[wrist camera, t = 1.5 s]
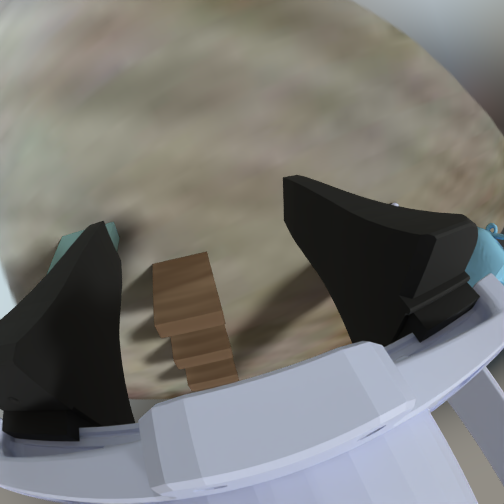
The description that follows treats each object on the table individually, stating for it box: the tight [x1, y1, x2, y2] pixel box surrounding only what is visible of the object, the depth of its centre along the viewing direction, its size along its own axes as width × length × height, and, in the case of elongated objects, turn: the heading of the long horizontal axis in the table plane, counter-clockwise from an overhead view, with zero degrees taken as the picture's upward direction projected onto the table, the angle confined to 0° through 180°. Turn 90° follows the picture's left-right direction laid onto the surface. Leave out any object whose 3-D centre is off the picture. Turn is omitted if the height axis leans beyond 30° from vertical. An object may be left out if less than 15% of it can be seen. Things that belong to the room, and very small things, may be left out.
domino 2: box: [171, 324, 233, 369], centre depth 25 cm, size 2×5×7 cm, turn 94°
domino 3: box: [185, 357, 239, 391], centre depth 29 cm, size 2×5×7 cm, turn 94°
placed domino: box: [47, 222, 119, 274], centre depth 18 cm, size 2×5×7 cm, turn 93°
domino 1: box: [153, 252, 225, 338], centre depth 22 cm, size 2×5×7 cm, turn 94°
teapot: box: [465, 223, 504, 288], centre depth 35 cm, size 12×18×12 cm
